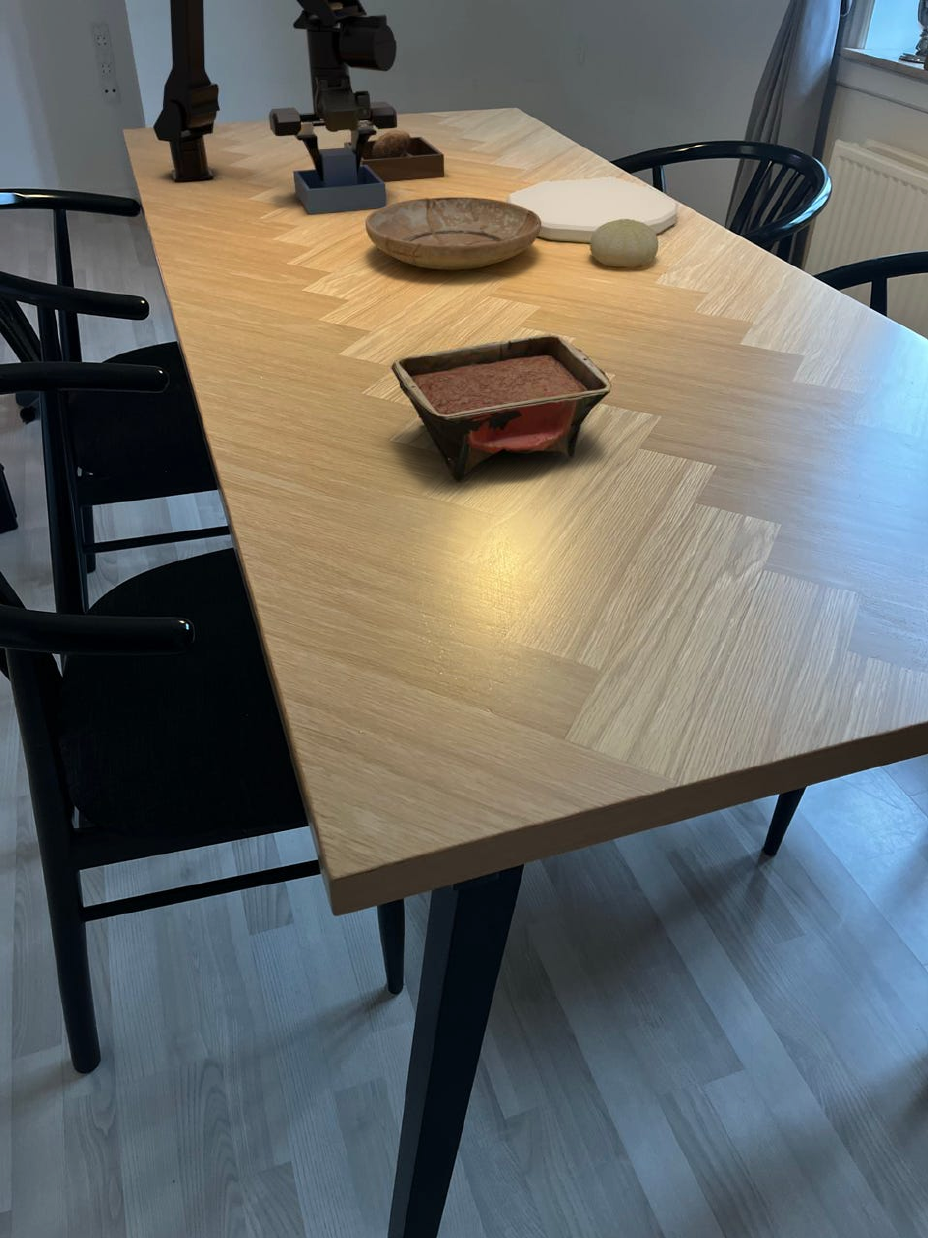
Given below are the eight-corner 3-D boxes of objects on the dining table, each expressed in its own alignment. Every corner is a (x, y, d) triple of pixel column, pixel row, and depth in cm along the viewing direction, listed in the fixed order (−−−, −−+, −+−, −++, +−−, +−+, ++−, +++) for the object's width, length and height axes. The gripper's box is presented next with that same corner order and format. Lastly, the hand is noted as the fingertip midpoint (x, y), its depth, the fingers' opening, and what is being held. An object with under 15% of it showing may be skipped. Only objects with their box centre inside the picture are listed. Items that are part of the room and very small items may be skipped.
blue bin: (295, 193, 154) (292, 170, 152) (368, 187, 157) (367, 164, 154) (309, 214, 145) (306, 190, 143) (386, 207, 148) (385, 183, 145)
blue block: (320, 183, 151) (317, 149, 148) (350, 180, 152) (348, 146, 149) (326, 191, 147) (323, 156, 144) (357, 188, 148) (355, 154, 145)
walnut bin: (345, 163, 169) (343, 142, 167) (421, 157, 173) (421, 136, 170) (363, 183, 159) (362, 160, 157) (444, 176, 162) (443, 154, 160)
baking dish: (605, 487, 85) (629, 378, 80) (413, 490, 79) (425, 373, 74) (546, 427, 96) (564, 329, 91) (375, 426, 91) (383, 321, 85)
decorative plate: (548, 220, 128) (486, 175, 146) (546, 252, 130) (486, 204, 149) (711, 203, 134) (633, 162, 152) (707, 234, 136) (630, 190, 155)
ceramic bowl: (544, 285, 120) (546, 244, 117) (359, 285, 120) (356, 245, 117) (536, 230, 138) (537, 193, 135) (375, 230, 138) (373, 194, 135)
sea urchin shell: (676, 242, 127) (657, 207, 120) (647, 294, 127) (627, 262, 120) (620, 228, 132) (599, 193, 125) (592, 279, 132) (570, 247, 125)
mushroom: (428, 143, 165) (406, 112, 161) (413, 172, 161) (390, 141, 157) (396, 161, 170) (374, 132, 166) (381, 190, 167) (358, 160, 163)
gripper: (274, 78, 131) (287, 197, 141) (404, 71, 135) (408, 187, 145) (262, 65, 139) (275, 179, 149) (385, 59, 144) (390, 169, 153)
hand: (338, 179), depth 149 cm, fingers closed on blue block, 5 cm apart
